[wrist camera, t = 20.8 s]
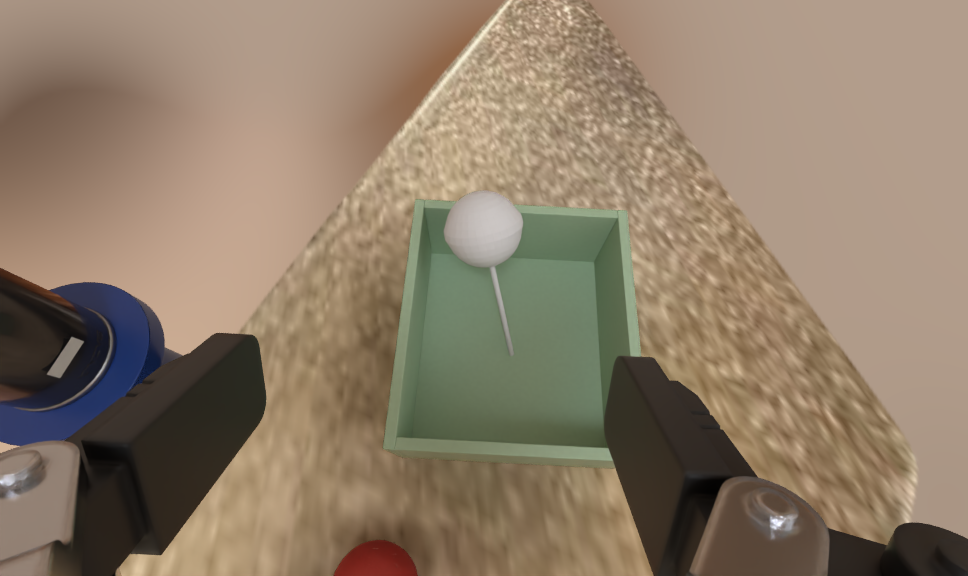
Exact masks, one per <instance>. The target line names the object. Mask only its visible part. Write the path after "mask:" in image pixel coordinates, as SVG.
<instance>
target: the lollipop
mask: <svg viewBox="0 0 968 576" xmlns="http://www.w3.org/2000/svg"><path fill="white" fill-rule="evenodd" d="M522 228H523V219H522V215H521V213H520V212H519V211H518V210H517V209H516V208H515V206H514V205H513V204H512V203H511V202H510V201H509V200H508V199H507V198H506V197H504V196H503V195H500V194H498V193H496V192H492V191H487V190H483V191H475V192H472V193H469V194H467V195H465V196H463V197H462V198H461V199H459V200H458V201H457V202H456V203H455V204H454V206H453V207H452V208H451V210H450V212H449V214H448V217H447V220H446V224H445V228H444V237H445V241H446V242H447V244H448V245H449V247H450V248H451V250H452V251H453V253H454V254H455V255H456V256H457V257H458V258H459V259H460V260H462V261H463V262H465V263H466V264H468V265H471V266H474V267H480V268H487V267H489V268H490V273H491V277H492V282H493V286H494V290H495V295H496V299H497V304H498V308H499V312H500V317H501V321H502V326H503V330H504V334H505V339H506V343H507V347H508V352H509V355H510V356H513V355H514V351H513V346H512V342H511V337H510V333H509V328H508V323H507V319H506V314H505V310H504V305H503V301H502V296H501V292H500V287H499V283H498V278H497V274H496V269H495V266H496V265H499V264H501V263H503V262H504V261H506V260H507V259H508V258H509V257H510V256H512V254H513V253H514V252H515V250H516V249H517V247H518V245H519V242H520V239H521V234H522Z"/></svg>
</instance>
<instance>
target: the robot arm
mask: <svg viewBox="0 0 968 576" xmlns="http://www.w3.org/2000/svg"><path fill="white" fill-rule="evenodd" d="M116 345H117V340H116V334H115V330H114V328H113V326H112V324H111V323H110V321H109V320H108V319H107V318H106V317H105V316H103V315H102V314H100V313H98V312H96V311H94V310H92V309H89V308H86V307H82V306H80V305H78V304H76V303H74V302H72V301H70V300H67V299H66V298H64V297H62V296H59V295H57V294H55V293H53V292H51V291H49V290H47V289H44V288H42V287H40V286H38V285H36V284H33V283H32V282H29V281H27V280H25V279H23V278H21V277H18V276H17V275H14V274H12V273H10V272H8V271H6V270H4V269H1V268H0V405H5V406H10V407H14V408H17V409H21V410H26V411H32V412H47V411H52V410H56V409H60V408H63V407H65V406H68V405H70V404H72V403H74V402H76V401H77V400H79V399H81V398H82V397H84V396H85V395H86V394H88V393H89V392H90V391H91V390H92V389H93V388H94V387H95V386H96V385H97V384H98V383H99V382H100V381H101V380H102V378H103V377H104V376H105V374H106V373H107V371H108V370H109V368H110V366H111V364H112V362H113V359H114V356H115V352H116ZM265 406H266V390H265V383H264V376H263V369H262V362H261V355H260V348H259V343H258V340H257V338H256V337H255V336H253V335H247V334H228V333H216V334H214V335H212V336H211V337H210V338H208V339H207V340H206V341H204V342H203V343H202V344H201V345H200V346H198V347H197V348H196V349H194V350H193V351H192V352H191V353H189V354H186V355H184V356H182V357H180V358H178V359H175V360H173V361H171V362H169V363H167V364H165V365H162V366H161V367H160V368H158V369H157V370H156V371H154V372H153V373H152V374H151V375H149V376H148V377H147V378H145V379H144V380H143V383H142V384H138V385H136V386H135V387H134V388H132V389H131V390H130V391H128V392H127V393H126V396H125V397H121V398H119V399H118V400H117V401H115V402H114V403H113V404H112V405H110V406H109V407H108V408H106V409H105V410H104V411H102V412H101V413H100V414H99V415H97V416H96V417H95V418H93V419H92V420H91V421H89V422H88V423H87V424H86V425H84V426H83V427H82V428H80V429H79V430H78V431H76V432H75V433H74V434H73V435H71V436H70V437H69V438H67V439H66V440H65V441H54V440H53V441H43V442H36V443H32V444H27V445H23V446H20V447H17V448H13V449H11V450H8V451H6V452H3V453H0V576H122V575H121V572H120V570H119V566H120V565H121V564H122V563H123V562H124V560H125V559H126V558H127V557H128V555H129V554H148V555H162V553H163V552H164V551H165V549H166V548H167V547H168V545H169V544H170V543H171V541H172V540H173V539H174V537H175V536H176V535H177V533H178V532H179V531H180V529H181V528H182V527H183V525H184V524H185V523H186V521H187V520H188V519H189V517H190V516H191V515H192V513H193V512H194V510H195V509H196V508H197V506H198V505H199V504H200V502H201V501H202V500H203V498H204V497H205V496H206V494H207V493H208V492H209V490H210V489H211V488H212V486H213V485H214V484H215V482H216V481H217V480H218V478H219V477H220V476H221V474H222V473H223V471H224V470H225V469H226V467H227V466H228V465H229V463H230V462H231V461H232V459H233V458H234V457H235V455H236V454H237V453H238V451H239V450H240V449H241V447H242V446H243V445H244V443H245V442H246V441H247V439H248V438H249V437H250V435H251V434H252V432H253V431H254V430H255V428H256V427H257V426H258V424H259V423H260V421H261V419H262V417H263V414H264V411H265ZM604 432H605V439H606V443H607V446H608V448H609V451H610V454H611V457H612V460H613V463H614V465H615V468H616V471H617V474H618V477H619V479H620V482H621V485H622V488H623V491H624V493H625V496H626V499H627V502H628V505H629V507H630V510H631V513H632V516H633V519H634V521H635V524H636V527H637V530H638V533H639V536H640V538H641V541H642V544H643V547H644V550H645V552H646V555H647V558H648V561H649V564H650V566H651V569H652V572H653V575H654V576H968V539H967V538H965V537H963V536H960V535H958V534H956V533H953V532H951V531H949V530H946V529H943V528H940V527H936V526H932V525H928V524H923V523H905V524H902V525H900V526H898V527H897V528H896V529H895V531H894V533H893V535H892V537H891V539H890V541H889V543H888V545H884V544H880V543H877V542H873V541H870V540H866V539H863V538H860V537H856V536H853V535H849V534H846V533H842V532H839V531H836V530H832V529H829V528H827V526H826V524H825V523H824V521H823V519H822V518H821V517H820V515H819V514H818V513H817V512H816V511H815V510H814V509H813V508H812V507H811V506H810V505H809V504H808V503H807V502H806V501H805V500H803V499H802V498H800V497H799V496H798V495H796V494H795V493H793V492H791V491H790V490H788V489H786V488H784V487H782V486H780V485H778V484H775V483H773V482H770V481H767V480H764V479H761V478H758V477H757V475H756V474H755V473H754V471H753V470H752V469H751V467H750V466H749V465H748V463H747V462H746V461H745V459H744V458H743V456H742V455H741V454H740V452H739V451H738V450H737V448H736V447H735V446H734V444H733V443H732V442H731V440H730V439H729V438H728V436H727V435H726V433H725V432H724V431H723V430H720V425H719V424H718V423H717V421H716V420H715V419H714V417H713V416H712V415H710V412H709V410H708V409H707V408H706V406H705V405H704V404H703V402H702V401H701V400H700V398H699V397H698V396H697V395H696V394H695V393H693V392H692V391H691V390H689V389H688V388H686V387H685V386H684V385H682V384H681V383H680V382H678V381H669V379H668V378H667V376H666V375H665V373H664V372H663V370H662V369H661V367H660V366H659V365H658V363H657V362H656V360H655V359H654V358H652V357H636V356H618V357H617V358H616V360H615V362H614V366H613V371H612V377H611V382H610V388H609V393H608V399H607V404H606V410H605V416H604Z"/></svg>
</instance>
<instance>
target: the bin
mask: <svg viewBox="0 0 968 576" xmlns="http://www.w3.org/2000/svg"><path fill="white" fill-rule="evenodd" d="M456 202H457V201H440V200H421V199H416V200H415V206H414V214H413V221H412V229H411V236H410V244H409V252H408V259H407V267H406V275H405V282H404V290H403V297H402V305H401V313H400V320H399V328H398V336H397V343H396V351H395V358H394V366H393V374H392V381H391V389H390V396H389V404H388V412H387V419H386V427H385V435H384V442H383V449H384V450H386V451H389V452H391V453H393V454H395V455H398V456H400V457H402V458H418V459H437V460H457V461H476V462H495V463H514V464H534V465H553V466H572V467H591V468H610V469H612V468H615V465H614V463H613V460H612V457H611V454H610V451H609V448H608V446H607V443H606V439H605V432H604V416H605V410H606V404H607V399H608V393H609V388H610V382H611V377H612V371H613V366H614V362H615V360H616V358H617V357H618V356H636V357H641V350H640V339H639V329H638V319H637V309H636V298H635V288H634V278H633V267H632V257H631V247H630V237H629V226H628V216H627V211H625V210H604V209H586V208H568V207H549V206H531V205H514V206H515V208H516V209H517V210H518V211H519V212H520V213H521V215H522V219H523V228H522V234H521V239H520V242H519V245H518V247H517V249H516V250H515V252H514V253H513V254H512V256H510V257H509V258H508V259H507V260H506V261H504V262H503V263H501V264H499V265H496V266H495V269H496V274H497V278H498V283H499V287H500V292H501V296H502V301H503V305H504V310H505V314H506V319H507V323H508V328H509V333H510V337H511V342H512V346H513V351H514V355H513V356H510V355H509V352H508V347H507V343H506V339H505V334H504V330H503V326H502V321H501V317H500V312H499V308H498V304H497V299H496V295H495V290H494V286H493V282H492V277H491V273H490V268H489V267H487V268H480V267H474V266H471V265H468V264H466V263H465V262H463V261H462V260H460V259H459V258H458V257H457V256H456V255H455V254H454V253H453V251H452V250H451V248H450V247H449V245H448V244H447V242H446V241H445V237H444V228H445V224H446V220H447V217H448V214H449V212H450V210H451V208H452V207H453V206H454V204H455V203H456Z"/></svg>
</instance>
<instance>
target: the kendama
mask: <svg viewBox="0 0 968 576" xmlns="http://www.w3.org/2000/svg"><path fill="white" fill-rule="evenodd" d="M334 576H418V575H417V570H416V567H415V564H414V562H413V561H412V559H411V557H410V556H409V555H408V553H407V552H406V551H405V550H404V549H402V548H401V547H400V546H398V545H396V544H395V542H393V543H392V542H389V541H385V540H373V541H368V542H365V543H362V544H360V545H358V546H357V547H355V548H354V549H353V550H351V551H350V552H349V553H348V554H347V555H346V556H345V557H344V558H343V560H342V561H341V563H340V564H339V566H338V567H337V569H336V571H335V573H334Z"/></svg>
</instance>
